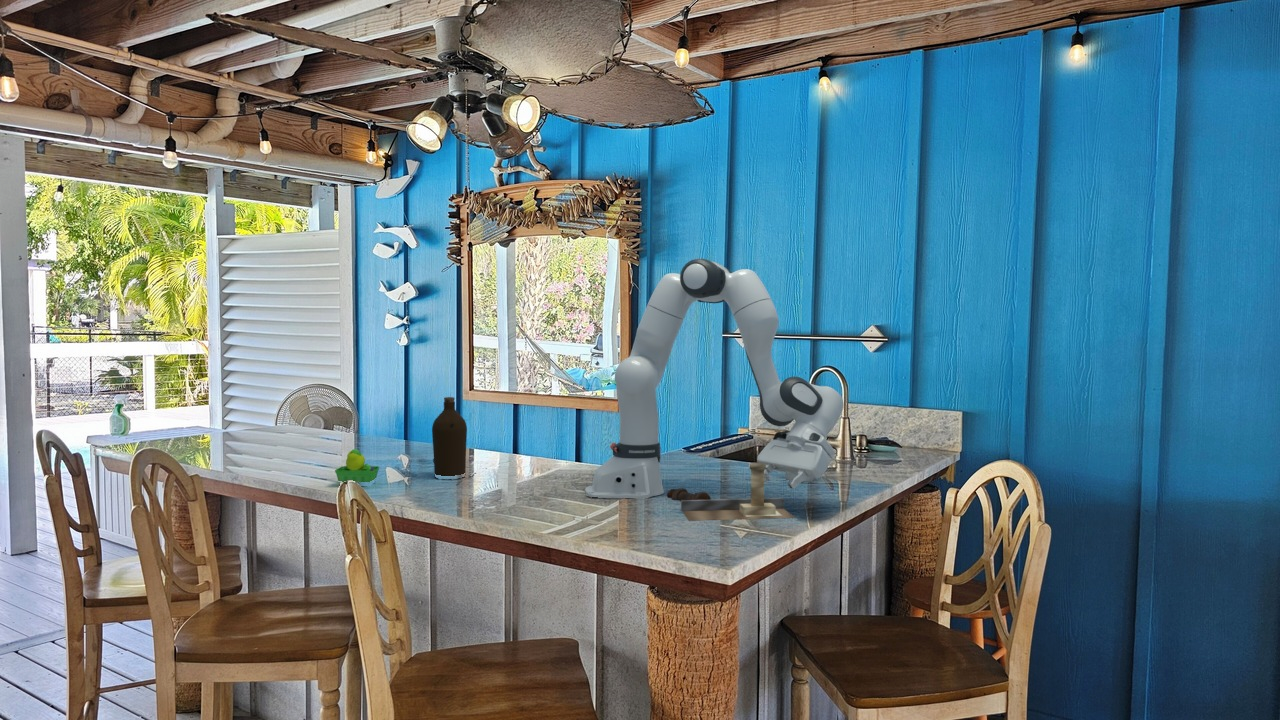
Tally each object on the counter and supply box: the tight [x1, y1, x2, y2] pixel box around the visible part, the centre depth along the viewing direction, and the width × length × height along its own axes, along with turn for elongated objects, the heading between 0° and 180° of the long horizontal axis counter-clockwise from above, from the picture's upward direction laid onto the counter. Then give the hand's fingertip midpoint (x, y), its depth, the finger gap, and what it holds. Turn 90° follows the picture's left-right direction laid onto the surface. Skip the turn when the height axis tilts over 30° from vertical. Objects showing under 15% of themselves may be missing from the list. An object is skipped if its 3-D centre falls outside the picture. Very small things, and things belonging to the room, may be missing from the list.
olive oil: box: [431, 396, 468, 476], centre depth 259 cm, size 11×11×25 cm
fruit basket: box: [334, 448, 380, 483], centre depth 246 cm, size 11×9×11 cm
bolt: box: [666, 487, 712, 502], centre depth 219 cm, size 6×5×15 cm
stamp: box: [739, 462, 776, 516], centre depth 204 cm, size 8×4×12 cm, turn 98°
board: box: [680, 497, 796, 522], centre depth 204 cm, size 26×12×4 cm, turn 97°
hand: (777, 484), depth 208 cm, fingers open, 8 cm apart
